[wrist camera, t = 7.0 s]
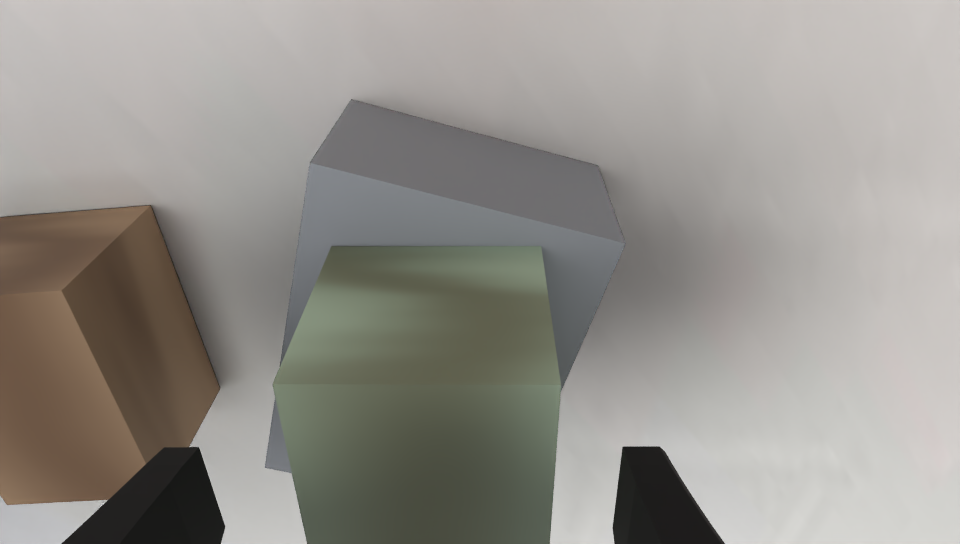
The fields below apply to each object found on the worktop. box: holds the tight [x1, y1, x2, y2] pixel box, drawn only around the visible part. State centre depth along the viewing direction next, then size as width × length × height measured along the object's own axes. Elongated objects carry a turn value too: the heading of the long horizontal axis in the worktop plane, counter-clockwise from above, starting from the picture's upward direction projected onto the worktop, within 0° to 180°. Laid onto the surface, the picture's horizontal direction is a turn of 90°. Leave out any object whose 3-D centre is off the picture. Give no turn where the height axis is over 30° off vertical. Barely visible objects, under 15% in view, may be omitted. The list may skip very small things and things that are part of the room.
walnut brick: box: [0, 205, 220, 505], centre depth 17 cm, size 4×6×4 cm, turn 5°
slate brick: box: [265, 99, 626, 473], centre depth 16 cm, size 6×8×4 cm
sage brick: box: [273, 246, 561, 544], centre depth 12 cm, size 4×6×4 cm, turn 0°
